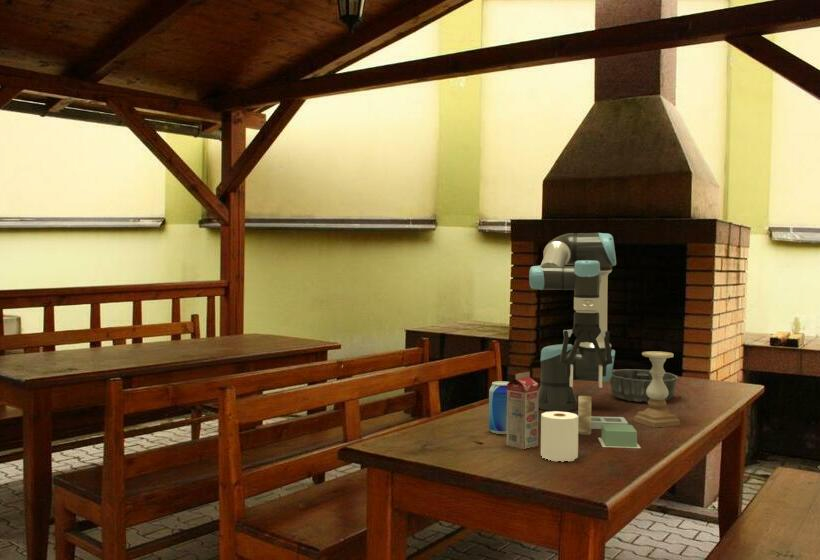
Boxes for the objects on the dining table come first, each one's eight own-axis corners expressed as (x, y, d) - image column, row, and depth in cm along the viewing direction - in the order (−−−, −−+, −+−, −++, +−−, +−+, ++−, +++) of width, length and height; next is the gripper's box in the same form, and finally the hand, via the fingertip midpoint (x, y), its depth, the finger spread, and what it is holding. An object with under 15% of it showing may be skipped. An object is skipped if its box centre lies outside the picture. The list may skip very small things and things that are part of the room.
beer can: (494, 436, 238) (495, 385, 237) (485, 430, 246) (485, 381, 245) (519, 434, 240) (519, 384, 239) (509, 428, 248) (509, 380, 247)
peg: (578, 435, 239) (579, 397, 239) (577, 432, 243) (577, 395, 242) (591, 436, 239) (592, 398, 238) (590, 433, 242) (590, 395, 242)
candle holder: (633, 421, 260) (634, 351, 259) (659, 418, 264) (660, 350, 263) (654, 428, 249) (655, 356, 248) (681, 425, 253) (682, 354, 252)
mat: (602, 448, 224) (602, 446, 224) (597, 438, 235) (597, 437, 235) (640, 449, 223) (640, 448, 223) (634, 440, 234) (634, 438, 234)
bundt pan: (682, 396, 304) (683, 371, 304) (672, 408, 281) (672, 381, 281) (616, 390, 317) (616, 367, 316) (600, 401, 293) (601, 376, 293)
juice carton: (506, 445, 226) (507, 372, 225) (520, 442, 231) (520, 370, 230) (524, 450, 222) (525, 375, 221) (538, 446, 226) (538, 372, 225)
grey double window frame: (580, 429, 247) (580, 421, 247) (578, 423, 256) (578, 415, 256) (627, 430, 245) (628, 423, 245) (623, 424, 254) (623, 417, 254)
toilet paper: (584, 456, 215) (584, 414, 214) (565, 464, 207) (566, 420, 206) (553, 450, 221) (553, 409, 221) (533, 457, 214) (534, 415, 213)
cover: (605, 446, 225) (605, 431, 225) (601, 438, 234) (601, 424, 234) (636, 447, 224) (637, 431, 224) (631, 439, 233) (631, 424, 232)
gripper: (552, 312, 226) (551, 388, 227) (623, 312, 223) (622, 389, 224) (550, 310, 233) (550, 383, 234) (620, 310, 231) (619, 385, 232)
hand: (585, 386), depth 229 cm, fingers open, 8 cm apart
